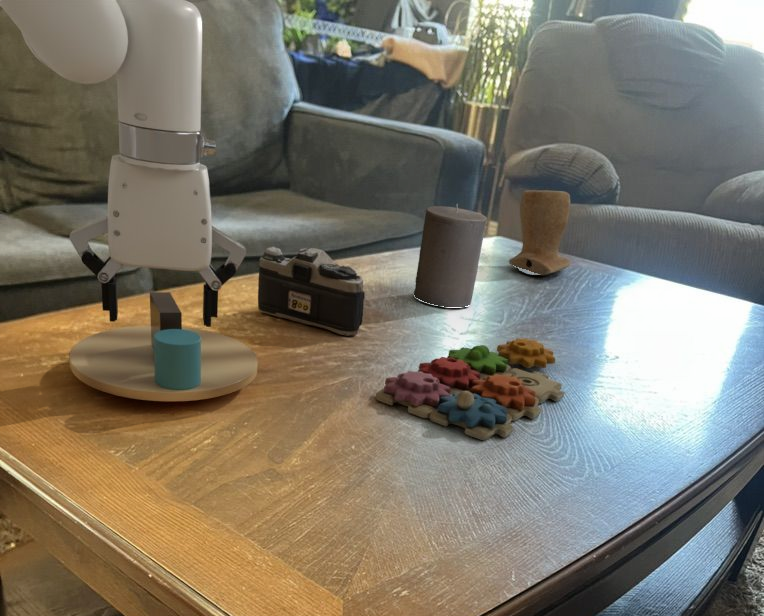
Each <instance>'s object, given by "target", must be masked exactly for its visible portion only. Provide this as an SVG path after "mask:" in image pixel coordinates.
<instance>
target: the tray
mask: <svg viewBox="0 0 764 616" xmlns="http://www.w3.org/2000/svg"><path fill="white" fill-rule="evenodd" d="M181 311H182V310H181V309H180V307H179V305H178V304H177V302H176V300H175V299H174V297H173V295H172V293H171V292H169V291H150V292H149V314H150V325H133V326H125V327H117V328H113V329H108V330H103V331H100V332H97V333H94V334H91V335H88V336H86V337H84V338H83V339H81V340H79V341H77V342H76V343H75V344H74V345H73V347H72V348H71V349H70V351H69V353H68V355H69V358H68V359H69V368H70V371H71V372H72V374H73V375H74V376H75V378H77V379H78V380H79V381H80V382H82V383H84V384H85V385H87V386H89V387H90V388H91V387H92V388H93V389H95V390H98V391H101V392H104V393H107V394H111V395H114V396H118V397H122V398H128V399H134V400H142V401H153V402H189V401H199V400H200V401H201V400H208V399H212V398H218V397H221V396H226V395H229V394H231V393H234V392H237V391H239V390H241V389H243V388H245V387H247V386H248V385H250V384H251V383H252V382H253V381H254V380H255V379H256V377H257V375H258V370H259V360H258V356H257V355H256V353H255V352H254V351H253V349H251V348H250V347H249V345H247V344H244V343H243V342H241V341H240V340H237V339H236V338H233V337H230V336H228V335H225V334H222V333H218V332H215V331H211V330H207V329H201V328H196V327H195V328H194V327H187V326H183V325H182V324H183V323H182V320H183V318H182V317H183V316H182V315H183V314H182V312H181ZM167 329H183V330H188V331H192V332H195V333H197V334H198V335H200V337H201V383H200V385H199V386H197V387H195V388H192V389H187V390H172V389H167V388H163V387H161V386H159V385H157V384H156V382H155V370H154V338H153V336H154V334H155V333H156V332H158V331H161V330H167Z"/></svg>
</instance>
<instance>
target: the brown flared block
mask: <svg viewBox="0 0 764 616" xmlns="http://www.w3.org/2000/svg"><path fill="white" fill-rule="evenodd" d="M570 211H571V195H570V193H568V192H567V191H562V190H548V189H547V190H546V189H545V190H538V189H537V190H534V189H531V190H530V189H527V190H524V191H523V192H522V194H521V197H520V203H519V218H520V227H521V239H522V248H521V251H520V252H519V253H518V254H516V255H515V256H514V257H512V258H510V259H508V263H509V264H510V265H511V266H512V265H514V266H516V267H519V268H522V269H526V270H529V271H531V272H534V273H538V274H541V276H547V275H551V274H554V273H557V272H560V271H562V270H564V269H566V268H568V267H569V266H570V265H571V264H572V261H571V260H570V259H568V258H565V257H563V256H561V255H560V254H559V247H560V244H561V241H562V238H563V235H564V233H565V230H566V228H567V226H568V223H569V217H570Z"/></svg>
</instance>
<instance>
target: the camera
mask: <svg viewBox="0 0 764 616" xmlns="http://www.w3.org/2000/svg"><path fill="white" fill-rule="evenodd" d="M258 266H259V267H258V268H259V269H258V284H257V286H258V287H257V288H258V289H257V307H258V311H259V312H261V313H263V314H267V315H270V316H273V317H277V318H279V319H287V320H289V321H292V322H296V323H300V324H304V325H307V326H314V327H317V328H321V329H325V330H328V331H330V332H333V333H335V334H338V335H341V336H347V337H348V336H349V337H350V336H353V337H354V336H356V335H357V334H358V332H359V330H360V327H361V326H362V324H363V317H364V306H365V304H364V302H365V294H366V293H365V290H364V281H365V279H364V278H363V277H362V276H360V275H358V273H357V272H356V270H355V269H354V268H352V267H351V266H349V265H339V264H338V263H335V261H334V260H333V259H332V258H331V257H330V255H329V254H328V253H326V252H325V251H324V250H323V249H320V248H315V247H310V248H306V247H305V248H300V249H299V251H298V253H297V255H296V256H294V257H292V258H289V257H285V256H284V254H283V252H282V250H281V249H280V248H278V247H275V246H273V245H272V246H270V247H267V248H266V249H265V251H264V253H263V255H262V256H261V257H260V258H259V265H258Z"/></svg>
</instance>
